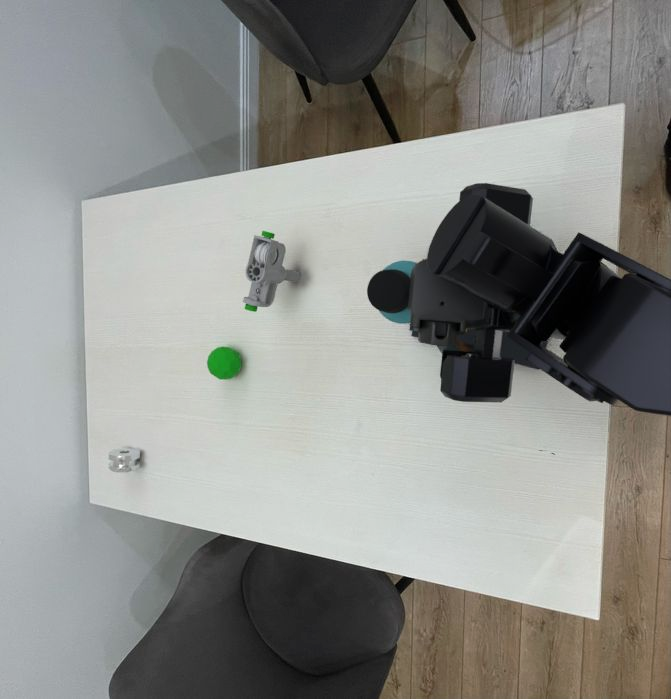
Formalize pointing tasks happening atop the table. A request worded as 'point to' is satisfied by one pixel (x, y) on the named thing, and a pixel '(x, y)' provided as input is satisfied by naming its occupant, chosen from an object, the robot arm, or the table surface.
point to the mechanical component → (266, 271)
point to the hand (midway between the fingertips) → (440, 294)
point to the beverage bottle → (392, 291)
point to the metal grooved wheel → (124, 460)
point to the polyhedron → (224, 363)
